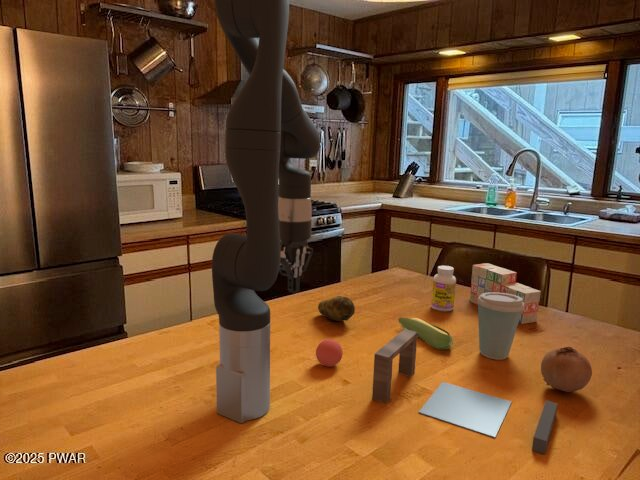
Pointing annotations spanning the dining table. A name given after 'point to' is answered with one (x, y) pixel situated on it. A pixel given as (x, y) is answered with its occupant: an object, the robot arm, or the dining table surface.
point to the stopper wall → (544, 427)
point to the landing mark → (467, 409)
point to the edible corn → (428, 332)
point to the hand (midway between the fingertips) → (293, 291)
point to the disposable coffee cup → (498, 323)
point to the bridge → (384, 359)
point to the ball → (329, 352)
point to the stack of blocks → (504, 288)
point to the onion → (566, 369)
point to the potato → (337, 308)
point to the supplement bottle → (443, 289)
